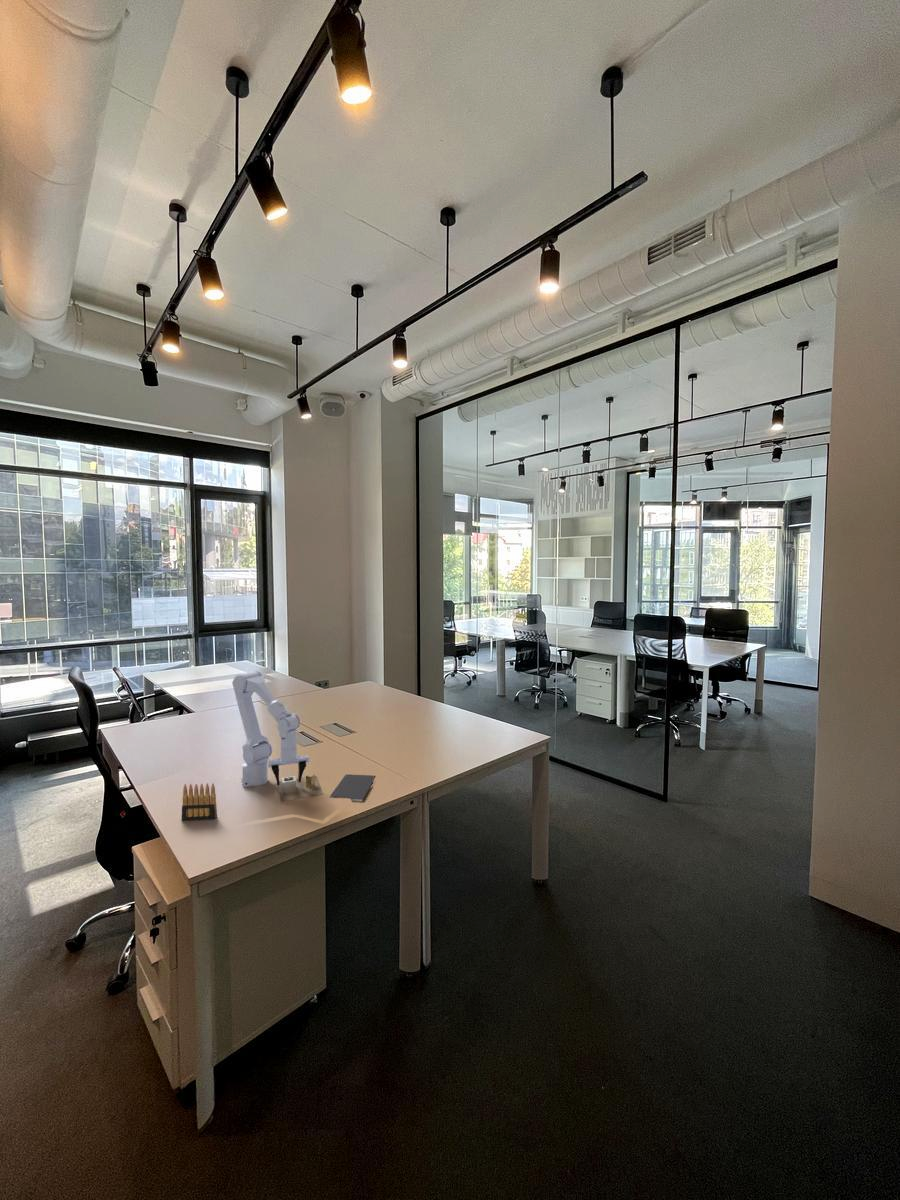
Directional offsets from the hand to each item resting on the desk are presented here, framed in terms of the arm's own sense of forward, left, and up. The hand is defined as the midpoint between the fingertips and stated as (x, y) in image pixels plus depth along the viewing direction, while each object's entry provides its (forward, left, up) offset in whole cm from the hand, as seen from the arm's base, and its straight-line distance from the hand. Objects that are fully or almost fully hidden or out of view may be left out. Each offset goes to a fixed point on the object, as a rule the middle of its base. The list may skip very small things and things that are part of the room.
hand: (288, 782), depth 183 cm
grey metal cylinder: (0, 0, -3) cm, 3 cm away
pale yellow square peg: (+8, 0, -3) cm, 8 cm away
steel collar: (0, 0, -3) cm, 3 cm away
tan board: (+4, 0, -4) cm, 5 cm away
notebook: (+23, -6, -4) cm, 25 cm away
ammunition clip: (-30, -10, -4) cm, 31 cm away
